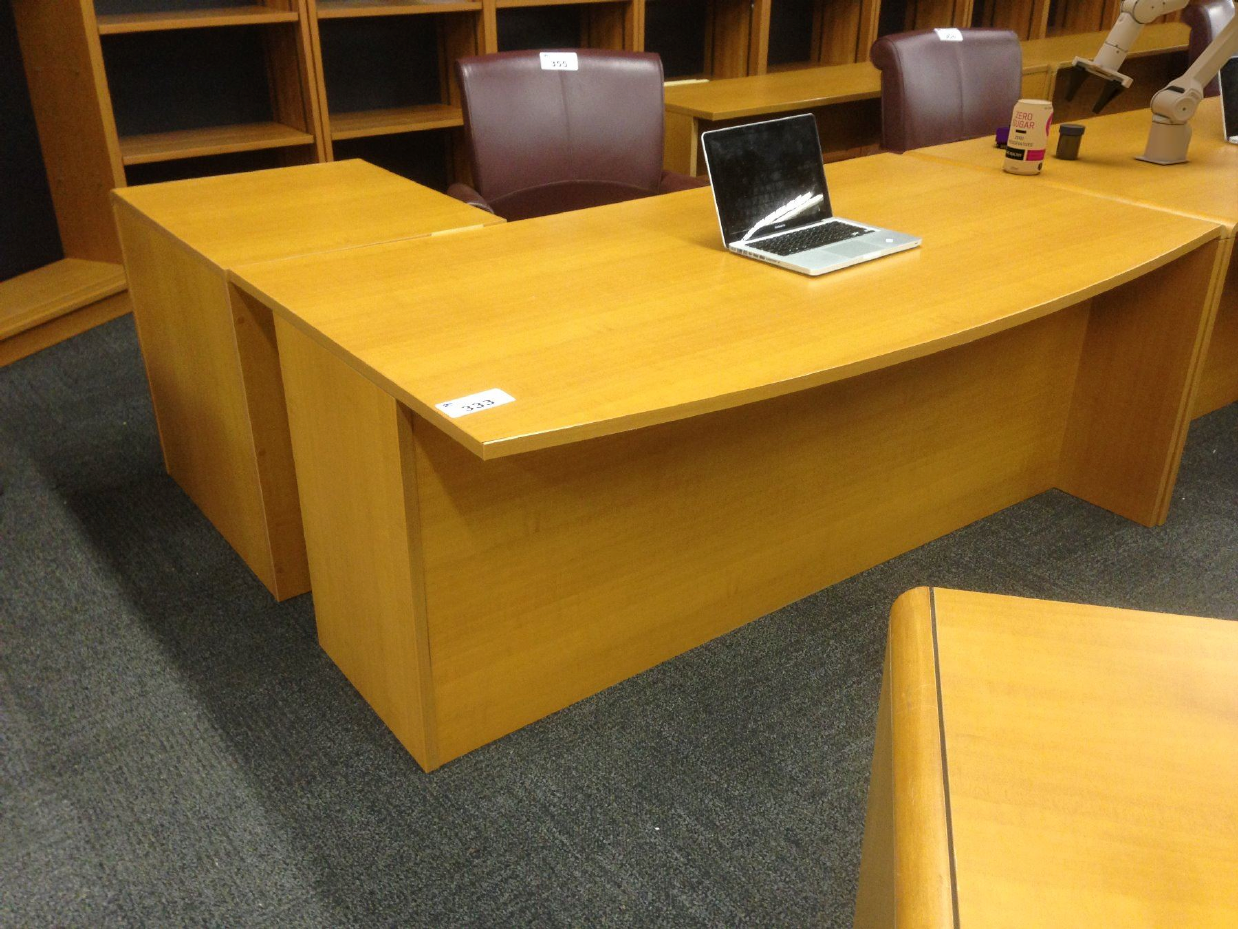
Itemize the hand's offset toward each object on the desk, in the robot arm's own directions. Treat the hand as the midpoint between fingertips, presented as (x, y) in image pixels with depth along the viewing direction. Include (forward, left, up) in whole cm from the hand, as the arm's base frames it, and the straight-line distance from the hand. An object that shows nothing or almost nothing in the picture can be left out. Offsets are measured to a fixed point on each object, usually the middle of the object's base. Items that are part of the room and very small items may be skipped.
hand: (1080, 106), depth 241 cm
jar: (-2, -2, -12) cm, 13 cm away
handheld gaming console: (-4, -18, -12) cm, 22 cm away
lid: (-2, -2, -5) cm, 6 cm away
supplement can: (+20, +4, -12) cm, 24 cm away
